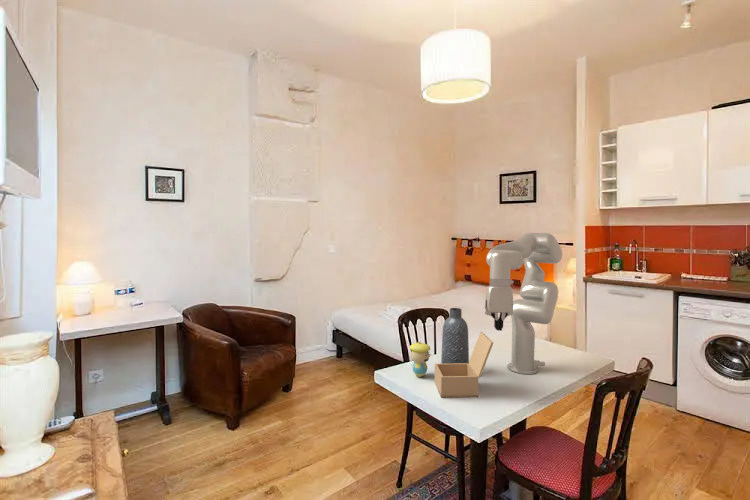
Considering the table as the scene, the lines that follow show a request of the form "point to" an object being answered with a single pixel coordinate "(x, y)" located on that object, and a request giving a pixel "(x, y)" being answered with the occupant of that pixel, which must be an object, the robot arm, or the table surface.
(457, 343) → the vase
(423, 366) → the toy
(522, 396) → the table surface
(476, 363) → the lid
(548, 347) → the table surface
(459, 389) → the box
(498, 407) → the table surface
